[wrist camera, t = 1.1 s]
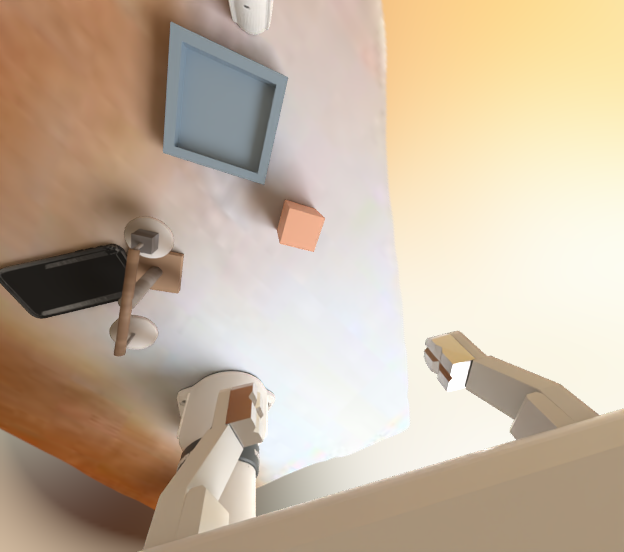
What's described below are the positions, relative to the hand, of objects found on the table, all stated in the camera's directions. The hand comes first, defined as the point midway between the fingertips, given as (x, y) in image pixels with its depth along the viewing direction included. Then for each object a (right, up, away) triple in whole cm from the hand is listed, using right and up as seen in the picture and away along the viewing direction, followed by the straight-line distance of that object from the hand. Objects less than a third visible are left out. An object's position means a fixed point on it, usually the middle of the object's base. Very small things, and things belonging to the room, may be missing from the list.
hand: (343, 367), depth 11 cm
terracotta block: (-4, +12, +23) cm, 26 cm away
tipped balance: (-23, +5, +22) cm, 33 cm away
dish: (-11, +22, +16) cm, 30 cm away
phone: (-34, +4, +21) cm, 40 cm away
